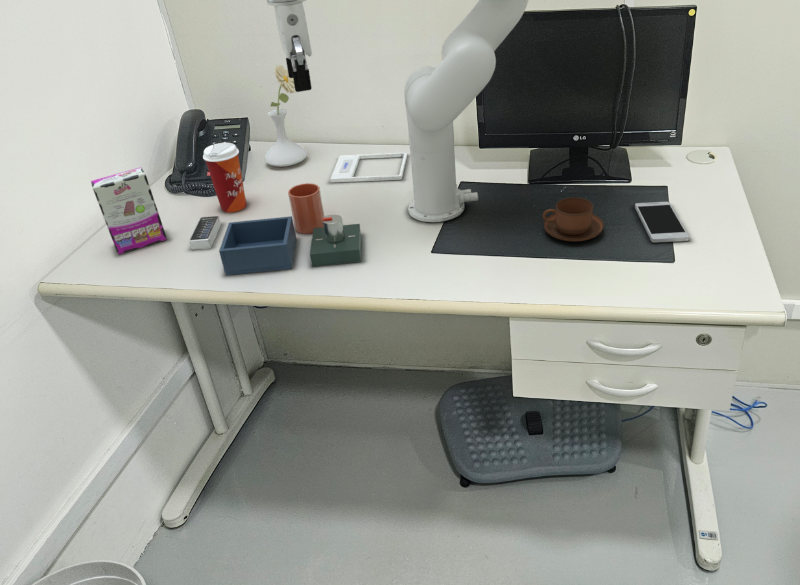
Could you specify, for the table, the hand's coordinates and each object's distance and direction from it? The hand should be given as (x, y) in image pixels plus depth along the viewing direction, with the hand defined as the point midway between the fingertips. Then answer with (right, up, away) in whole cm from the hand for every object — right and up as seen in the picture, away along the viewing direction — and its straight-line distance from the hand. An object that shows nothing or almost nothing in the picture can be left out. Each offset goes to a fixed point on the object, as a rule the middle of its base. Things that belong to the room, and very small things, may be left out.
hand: (300, 83), depth 142 cm
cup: (0, -27, +16) cm, 32 cm away
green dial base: (+7, -33, +6) cm, 35 cm away
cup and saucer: (+56, -30, +4) cm, 63 cm away
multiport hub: (-23, -30, +17) cm, 41 cm away
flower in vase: (-10, -7, +49) cm, 51 cm away
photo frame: (+12, -10, +39) cm, 43 cm away
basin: (-9, -34, +7) cm, 36 cm away
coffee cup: (-20, -21, +29) cm, 41 cm away
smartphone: (+74, -28, +3) cm, 79 cm away
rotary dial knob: (+7, -31, +5) cm, 32 cm away
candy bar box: (-38, -31, +17) cm, 52 cm away
